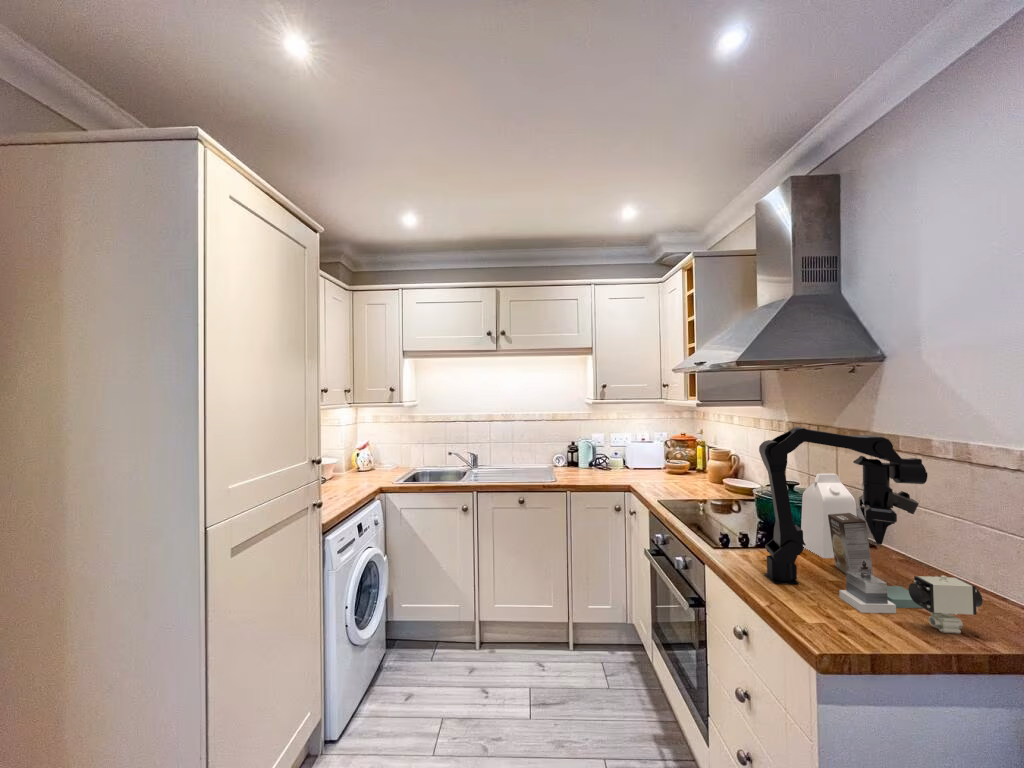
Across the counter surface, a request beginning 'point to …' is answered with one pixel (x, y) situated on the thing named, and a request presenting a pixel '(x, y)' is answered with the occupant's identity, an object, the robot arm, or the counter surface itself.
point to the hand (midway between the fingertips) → (876, 539)
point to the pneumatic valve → (945, 600)
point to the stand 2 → (900, 597)
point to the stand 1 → (864, 606)
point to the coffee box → (850, 543)
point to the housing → (866, 587)
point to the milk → (823, 512)
